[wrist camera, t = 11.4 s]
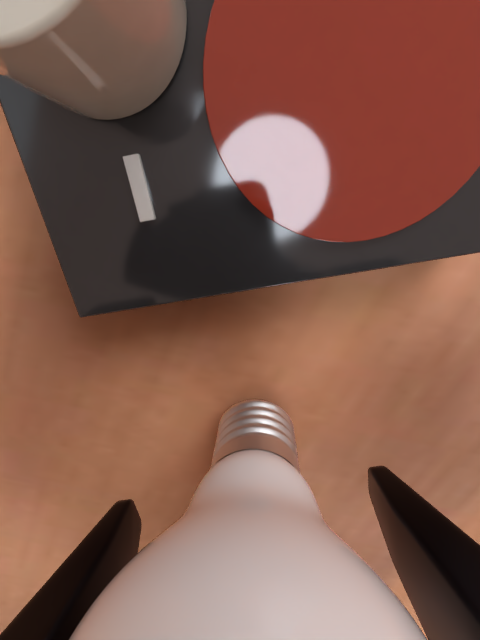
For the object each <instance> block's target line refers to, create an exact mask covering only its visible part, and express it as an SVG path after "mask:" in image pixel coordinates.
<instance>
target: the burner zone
mask: <svg viewBox="0 0 480 640" xmlns="http://www.w3.org/2000/svg"><path fill="white" fill-rule="evenodd" d="M203 91H204V99H205V107H206V114H207V118H208V122H209V127H210V131H211V135H212V137H213V140H214V143H215V146H216V148H217V151H218V154H219V156H220V158H221V160H222V162H223V164H224V166H225V168H226V170H227V172H228V174H229V175H230V177H231V178H232V180H233V181H234V183H235V184H236V186H237V187H238V189H239V190H240V191H241V192H242V194H243V195H244V196H245V197H246V198H247V199H248V200H249V202H250V203H251V204H252V205H253V206H255V207H256V208H257V209H258V210H259V211H260V212H261V213H263V214H264V215H265V216H266V217H268V218H269V219H271V220H272V221H274V222H275V223H277V224H278V225H280V226H282V227H284V228H286V229H288V230H290V231H292V232H294V233H296V234H299V235H302V236H306V237H309V238H312V239H317V240H323V241H329V242H356V241H366V240H370V239H374V238H379V237H383V236H386V235H389V234H392V233H394V232H397V231H400V230H402V229H404V228H406V227H408V226H410V225H412V224H414V223H416V222H418V221H420V220H421V219H423V218H424V217H426V216H427V215H429V214H430V213H432V212H433V211H435V210H436V209H438V208H439V207H440V206H441V205H442V204H444V203H445V202H446V201H447V200H449V199H450V198H451V197H452V196H453V195H454V194H455V193H456V192H457V191H458V190H459V189H460V188H461V187H462V186H463V185H464V184H465V183H466V182H467V181H468V180H469V179H470V177H471V176H472V175H473V174H474V172H475V171H476V170H477V169H478V167H479V166H480V0H214V3H213V6H212V9H211V13H210V18H209V22H208V27H207V32H206V37H205V47H204V57H203Z"/></svg>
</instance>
